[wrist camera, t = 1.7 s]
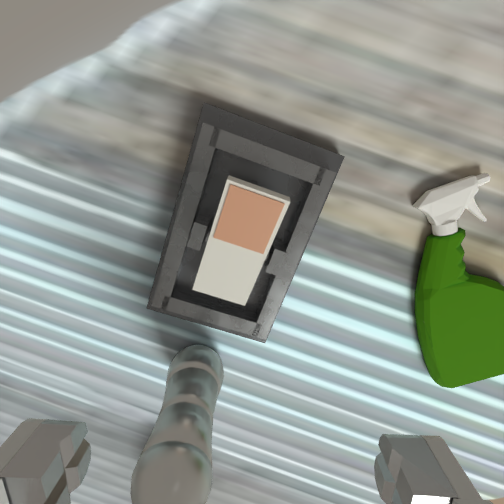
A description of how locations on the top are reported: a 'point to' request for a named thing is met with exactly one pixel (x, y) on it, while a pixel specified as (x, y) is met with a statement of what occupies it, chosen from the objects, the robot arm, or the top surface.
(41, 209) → the top surface
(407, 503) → the robot arm
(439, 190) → the spray bottle
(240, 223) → the rocker
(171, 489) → the plastic bottle
